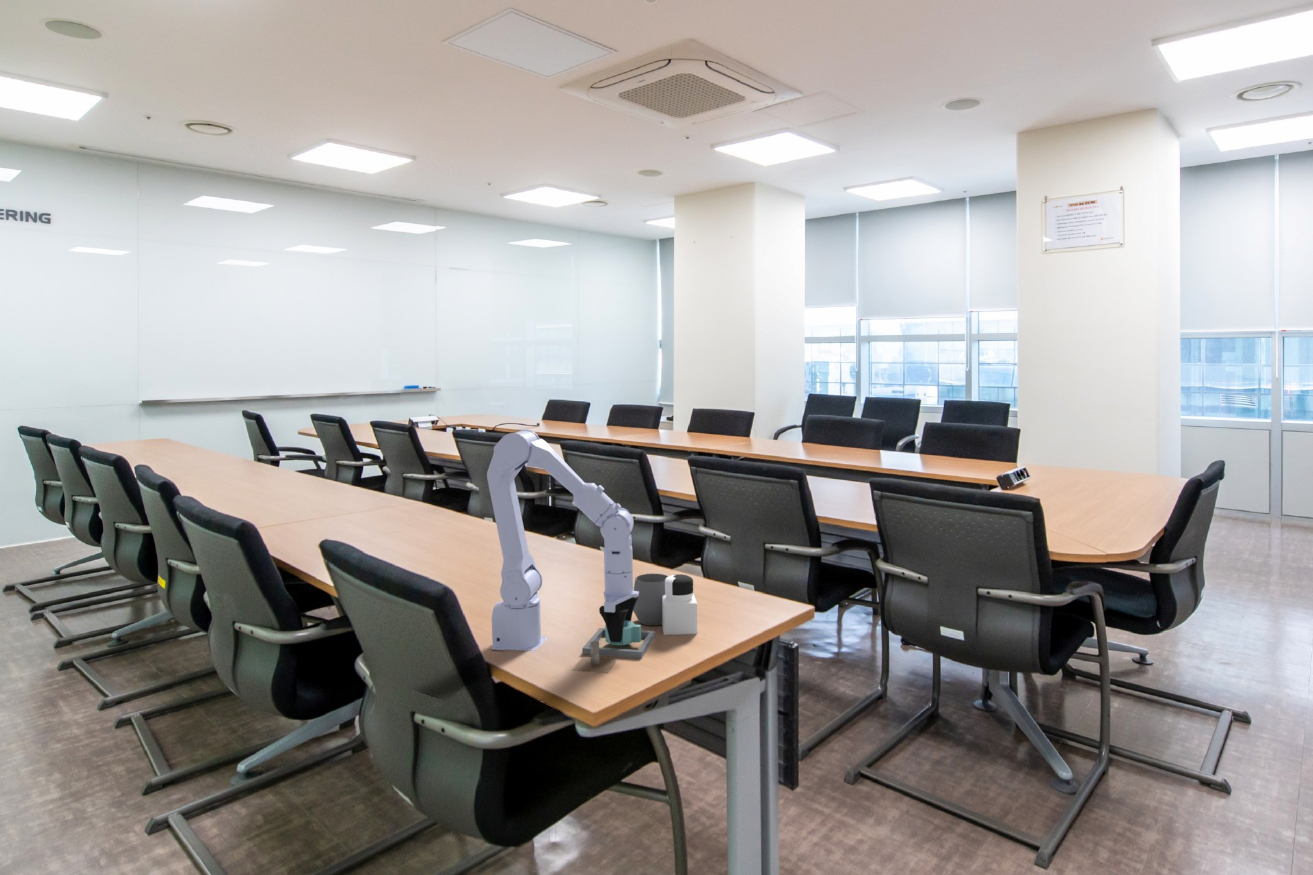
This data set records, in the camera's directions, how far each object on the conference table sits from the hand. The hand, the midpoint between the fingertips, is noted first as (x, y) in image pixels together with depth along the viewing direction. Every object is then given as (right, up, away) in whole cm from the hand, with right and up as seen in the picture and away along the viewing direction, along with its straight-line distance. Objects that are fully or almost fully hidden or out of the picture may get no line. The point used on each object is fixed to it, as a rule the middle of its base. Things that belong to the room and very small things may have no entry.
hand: (619, 636), depth 154 cm
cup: (+7, -1, +16) cm, 17 cm away
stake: (-4, -3, -10) cm, 11 cm away
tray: (0, -3, 0) cm, 2 cm away
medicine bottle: (+12, -2, +10) cm, 16 cm away
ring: (0, -1, 0) cm, 1 cm away
